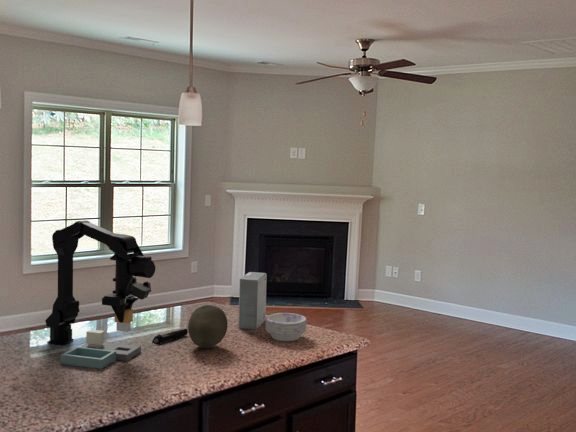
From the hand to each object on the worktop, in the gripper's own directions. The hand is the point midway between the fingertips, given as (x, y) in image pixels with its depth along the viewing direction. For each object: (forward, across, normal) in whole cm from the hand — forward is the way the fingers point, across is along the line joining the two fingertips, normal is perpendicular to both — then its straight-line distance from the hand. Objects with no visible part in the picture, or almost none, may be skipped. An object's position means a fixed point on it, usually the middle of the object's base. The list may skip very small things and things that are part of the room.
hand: (123, 321), depth 205 cm
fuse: (+11, 0, +10) cm, 15 cm away
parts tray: (+11, -10, +7) cm, 17 cm away
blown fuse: (+3, 0, 0) cm, 3 cm away
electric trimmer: (+12, +22, -7) cm, 26 cm away
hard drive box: (+12, +53, -29) cm, 61 cm away
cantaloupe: (+12, +17, -23) cm, 31 cm away
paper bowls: (+12, +39, -46) cm, 61 cm away
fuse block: (+11, 0, +5) cm, 12 cm away
